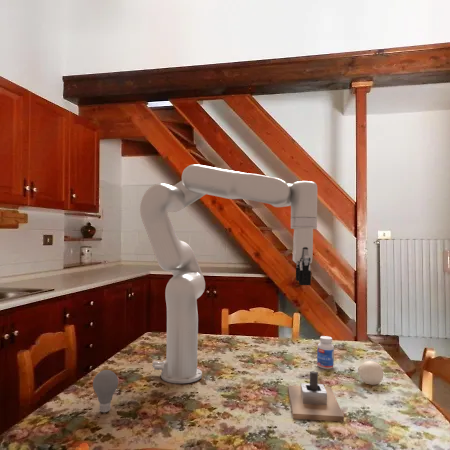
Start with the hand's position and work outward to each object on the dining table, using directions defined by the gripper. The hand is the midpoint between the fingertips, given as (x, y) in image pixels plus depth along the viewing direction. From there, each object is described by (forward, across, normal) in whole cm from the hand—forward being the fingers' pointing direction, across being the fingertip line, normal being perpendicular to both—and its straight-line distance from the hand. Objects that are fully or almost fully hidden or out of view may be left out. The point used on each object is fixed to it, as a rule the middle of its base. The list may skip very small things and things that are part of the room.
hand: (302, 282), depth 117 cm
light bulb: (+31, +22, -50) cm, 63 cm away
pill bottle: (+31, -20, +10) cm, 38 cm away
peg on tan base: (+30, +11, +2) cm, 32 cm away
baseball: (+31, -6, +21) cm, 38 cm away
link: (+29, +11, +2) cm, 31 cm away
